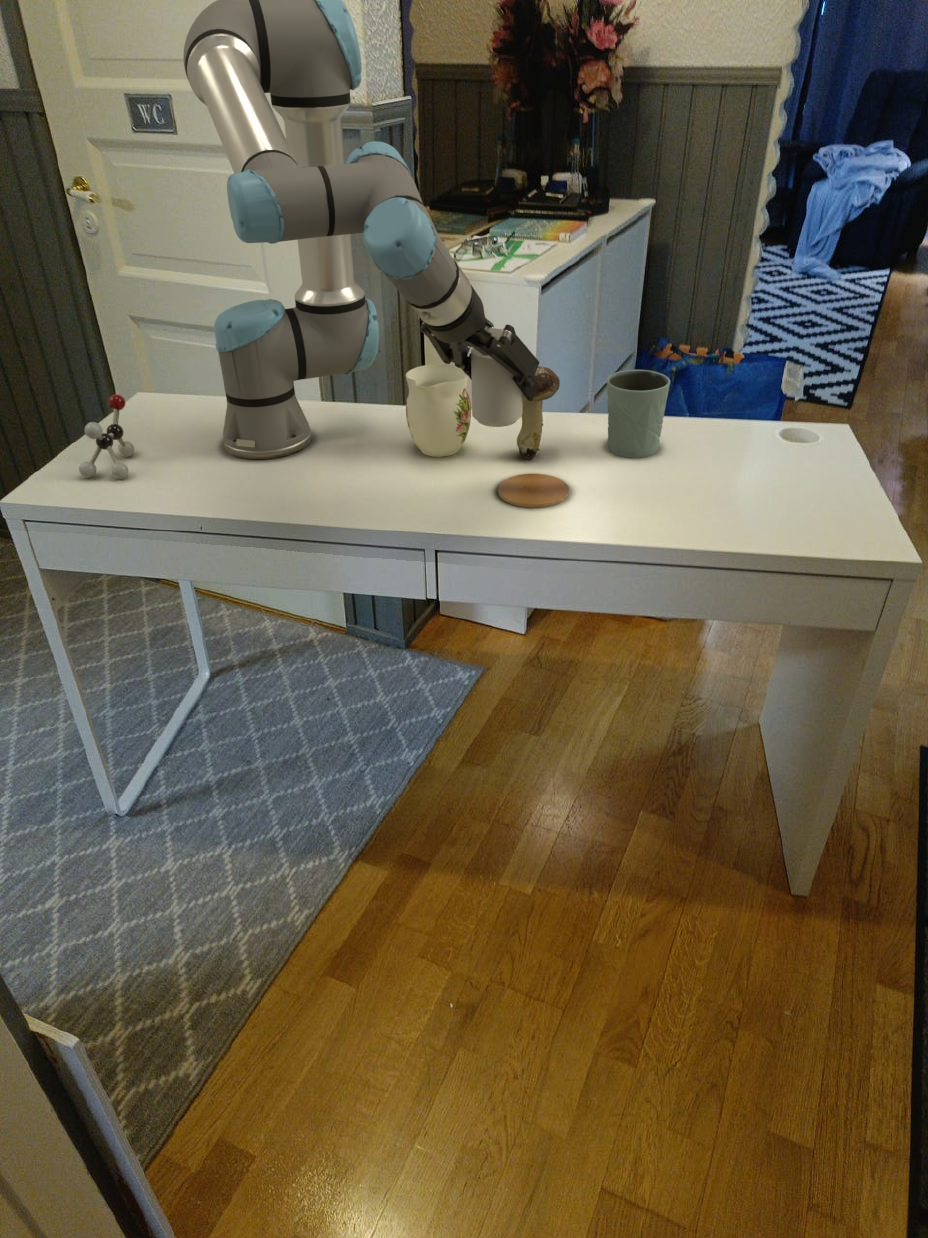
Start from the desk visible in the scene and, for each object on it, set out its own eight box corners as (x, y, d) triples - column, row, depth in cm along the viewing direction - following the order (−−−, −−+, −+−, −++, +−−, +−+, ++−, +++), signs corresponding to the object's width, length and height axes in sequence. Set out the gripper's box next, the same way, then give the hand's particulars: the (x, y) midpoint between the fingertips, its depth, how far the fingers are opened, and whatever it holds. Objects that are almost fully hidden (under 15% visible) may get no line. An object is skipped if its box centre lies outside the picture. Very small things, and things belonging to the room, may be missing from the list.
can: (461, 420, 130) (459, 338, 124) (496, 406, 135) (496, 327, 128) (498, 433, 126) (498, 349, 119) (532, 418, 130) (534, 337, 124)
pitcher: (484, 429, 158) (483, 353, 151) (458, 471, 144) (456, 389, 136) (426, 424, 161) (422, 349, 153) (395, 465, 147) (389, 385, 139)
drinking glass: (670, 442, 152) (677, 374, 145) (651, 464, 145) (659, 393, 138) (614, 432, 156) (619, 365, 149) (593, 454, 149) (598, 384, 142)
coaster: (492, 479, 141) (492, 476, 141) (559, 473, 143) (559, 470, 142) (505, 510, 132) (505, 507, 132) (576, 504, 134) (576, 501, 133)
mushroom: (566, 453, 149) (570, 366, 140) (540, 472, 143) (543, 382, 135) (518, 441, 153) (519, 356, 145) (491, 459, 148) (491, 371, 139)
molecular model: (78, 480, 145) (60, 418, 139) (110, 450, 154) (94, 391, 148) (126, 481, 144) (109, 419, 138) (155, 451, 154) (141, 392, 148)
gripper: (370, 317, 115) (442, 398, 135) (505, 340, 105) (561, 423, 126) (391, 266, 115) (460, 354, 136) (527, 284, 106) (579, 375, 126)
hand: (509, 387), depth 131 cm, fingers closed on can, 7 cm apart
